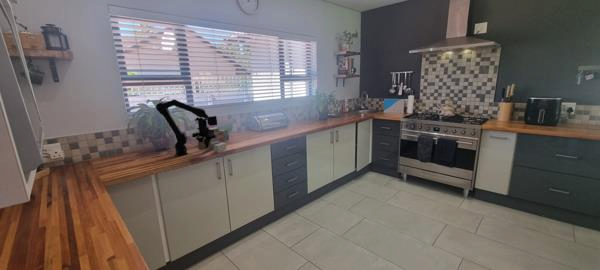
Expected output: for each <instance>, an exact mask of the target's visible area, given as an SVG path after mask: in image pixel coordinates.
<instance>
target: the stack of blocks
mask: <svg viewBox="0 0 600 270" xmlns="http://www.w3.org/2000/svg"><path fill="white" fill-rule="evenodd" d="M208 128H209V127H208ZM209 129H211V130H214V134H215V135H216V138H213V139H211V140H210V141H211V142H215V141H219V142H221V143H222V142H224V141H229V140H230V135H229V131H228V132H227V130H221V129H220V128H219V127H210V128H209ZM219 130H221V131H219ZM204 139H206V137H204ZM204 139H203V141H204Z"/></svg>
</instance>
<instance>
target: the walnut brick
mask: <svg viewBox="0 0 600 270" xmlns="http://www.w3.org/2000/svg"><path fill="white" fill-rule="evenodd" d="M197 147H198V150H199V151H200V150H201V151H205V150H209V148H211V141H210V142H209V146H208V147H206V145H205V142H204V140H203V142H198V143H197Z"/></svg>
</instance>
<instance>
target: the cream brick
mask: <svg viewBox="0 0 600 270" xmlns="http://www.w3.org/2000/svg"><path fill="white" fill-rule="evenodd" d="M226 150H227V143H225V142H221V143H219V144H216V145H214V150H213V151H215V153H220V152H223V151H226Z"/></svg>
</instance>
